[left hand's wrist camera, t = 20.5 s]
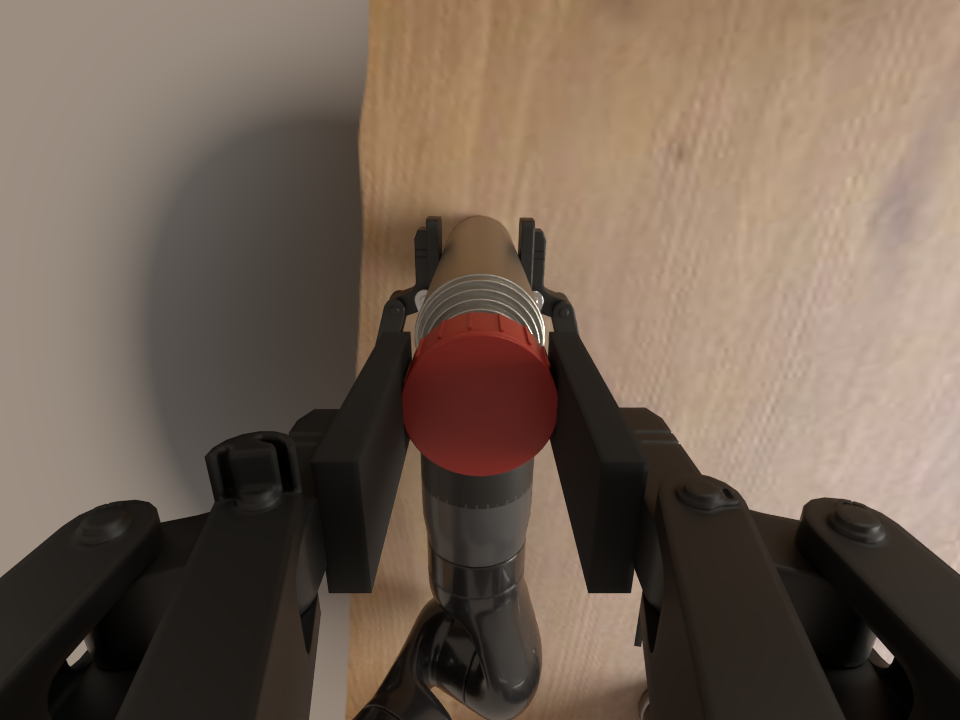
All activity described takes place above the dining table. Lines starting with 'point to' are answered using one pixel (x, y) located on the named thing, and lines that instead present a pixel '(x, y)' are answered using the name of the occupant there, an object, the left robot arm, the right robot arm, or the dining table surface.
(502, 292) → the bottle
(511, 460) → the cap
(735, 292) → the dining table surface
